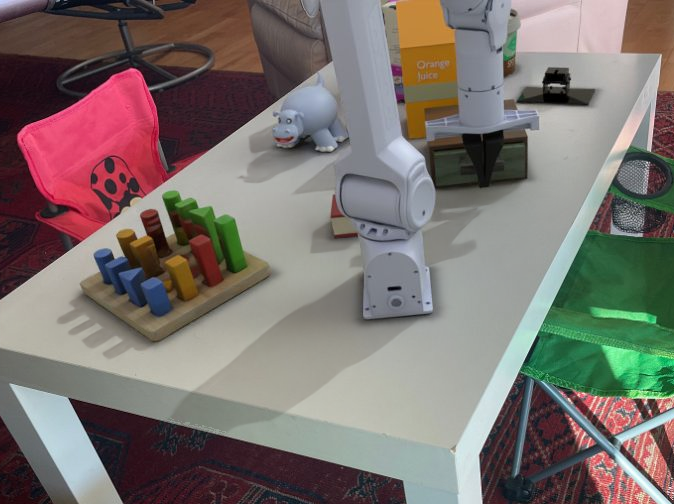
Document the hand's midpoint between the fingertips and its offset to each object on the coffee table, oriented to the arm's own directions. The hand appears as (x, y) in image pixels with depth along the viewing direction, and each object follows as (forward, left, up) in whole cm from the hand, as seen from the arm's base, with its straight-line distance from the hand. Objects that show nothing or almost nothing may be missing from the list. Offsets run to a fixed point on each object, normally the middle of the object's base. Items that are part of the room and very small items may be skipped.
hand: (484, 184), depth 102 cm
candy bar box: (+43, +7, -3) cm, 43 cm away
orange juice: (+29, +6, -3) cm, 29 cm away
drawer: (+10, 0, -2) cm, 10 cm away
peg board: (-13, +41, -3) cm, 43 cm away
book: (-2, +19, -3) cm, 19 cm away
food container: (+53, -9, -3) cm, 54 cm away
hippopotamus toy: (+27, +27, -3) cm, 38 cm away
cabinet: (+14, 0, -3) cm, 14 cm away
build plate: (+37, -16, -3) cm, 40 cm away
